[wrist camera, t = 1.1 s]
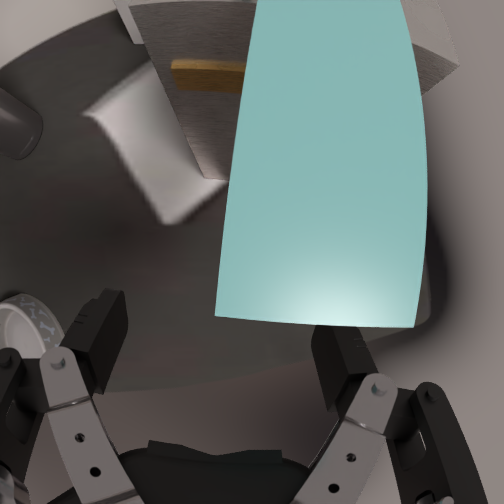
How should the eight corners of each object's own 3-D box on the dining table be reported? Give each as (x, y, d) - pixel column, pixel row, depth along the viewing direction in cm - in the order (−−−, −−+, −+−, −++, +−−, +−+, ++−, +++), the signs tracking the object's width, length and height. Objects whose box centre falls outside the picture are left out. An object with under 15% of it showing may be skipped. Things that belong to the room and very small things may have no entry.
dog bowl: (-12, 316, 38) (-29, 321, 33) (41, 278, 39) (21, 281, 33) (27, 396, 39) (12, 407, 33) (87, 373, 39) (72, 386, 34)
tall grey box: (305, 192, 40) (515, 30, 4) (204, 180, 40) (95, -58, 4) (312, 73, 40) (401, -112, 4) (224, 61, 39) (218, -145, 3)
